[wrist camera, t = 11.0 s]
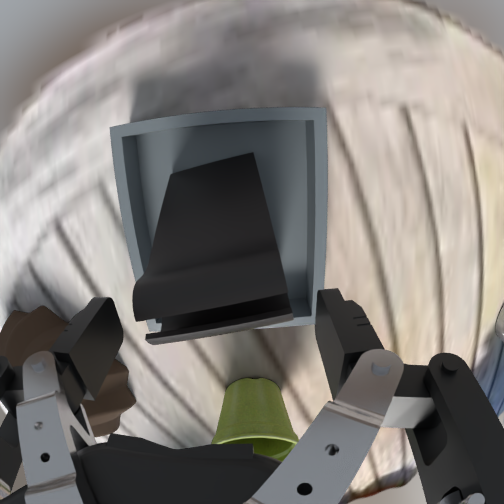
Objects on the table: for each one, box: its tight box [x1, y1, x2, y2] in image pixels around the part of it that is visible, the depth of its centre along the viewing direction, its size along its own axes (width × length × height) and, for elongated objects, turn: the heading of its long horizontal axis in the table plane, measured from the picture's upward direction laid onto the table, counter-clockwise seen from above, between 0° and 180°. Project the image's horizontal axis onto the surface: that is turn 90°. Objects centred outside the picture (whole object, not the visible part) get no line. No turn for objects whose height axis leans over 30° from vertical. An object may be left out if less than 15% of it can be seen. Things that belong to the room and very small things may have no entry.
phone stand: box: [132, 152, 294, 345], centre depth 16 cm, size 9×6×12 cm, turn 13°
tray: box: [110, 107, 328, 331], centre depth 21 cm, size 14×16×4 cm
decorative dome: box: [0, 306, 136, 437], centre depth 25 cm, size 19×20×10 cm
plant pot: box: [211, 378, 299, 462], centre depth 26 cm, size 9×9×9 cm
